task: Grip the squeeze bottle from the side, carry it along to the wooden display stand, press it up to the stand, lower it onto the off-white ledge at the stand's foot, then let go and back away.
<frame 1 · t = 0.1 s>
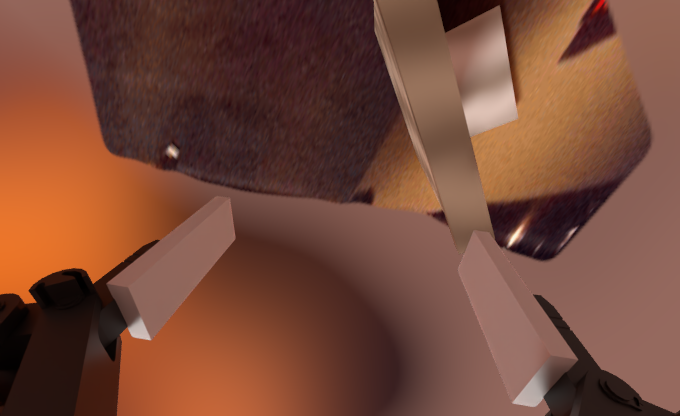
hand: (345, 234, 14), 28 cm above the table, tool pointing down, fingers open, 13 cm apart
wooden display stand: (447, 69, 34), on the table
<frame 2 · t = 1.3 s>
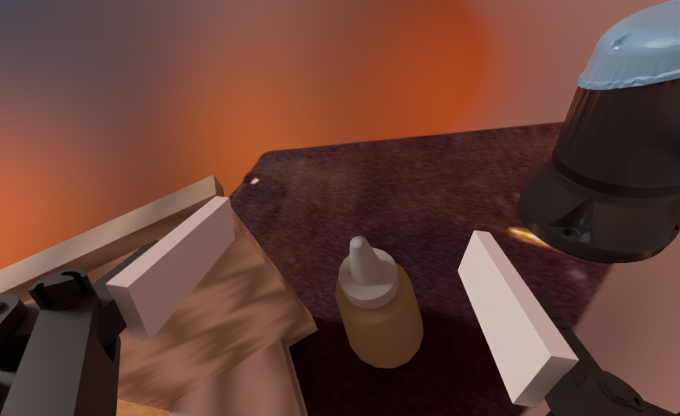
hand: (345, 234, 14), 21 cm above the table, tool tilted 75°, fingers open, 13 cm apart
wooden display stand: (266, 411, 27), on the table
squeeze bottle: (387, 337, 30), on the table
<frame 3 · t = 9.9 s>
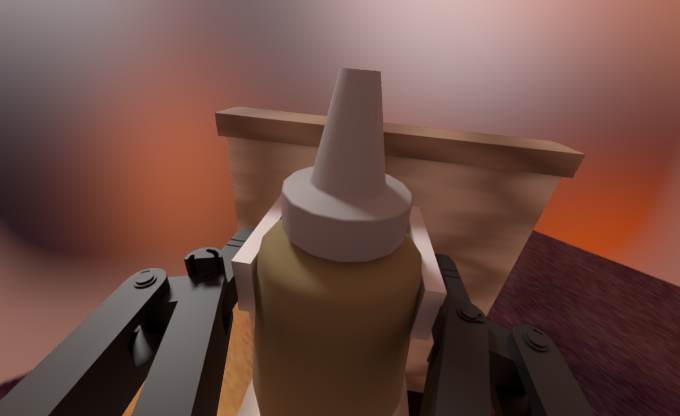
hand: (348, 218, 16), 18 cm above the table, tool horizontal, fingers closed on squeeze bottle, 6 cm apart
squeeze bottle: (325, 397, 16), point 8 cm above the table, touching gripper
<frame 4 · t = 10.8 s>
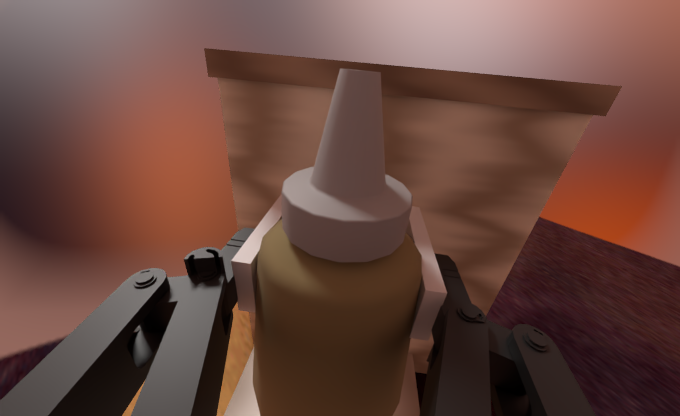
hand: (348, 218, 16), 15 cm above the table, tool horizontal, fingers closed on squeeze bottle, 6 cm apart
squeeze bottle: (325, 397, 16), point 5 cm above the table, touching gripper
when the fingers open (14 cm above the table, at t = 11.5 s): squeeze bottle drops 1 cm, resting on wooden display stand.
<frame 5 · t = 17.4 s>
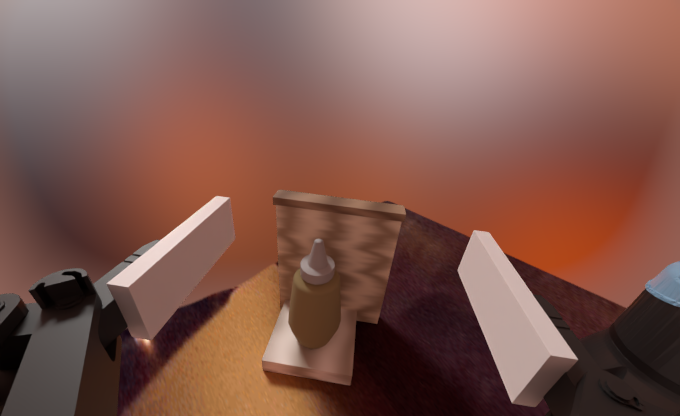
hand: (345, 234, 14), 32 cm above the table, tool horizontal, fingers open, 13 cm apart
wooden display stand: (329, 342, 42), on the table
squeeze bottle: (313, 332, 41), point 2 cm above the table, touching wooden display stand
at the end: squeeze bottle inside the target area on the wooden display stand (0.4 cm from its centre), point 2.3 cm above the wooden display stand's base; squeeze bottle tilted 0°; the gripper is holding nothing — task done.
